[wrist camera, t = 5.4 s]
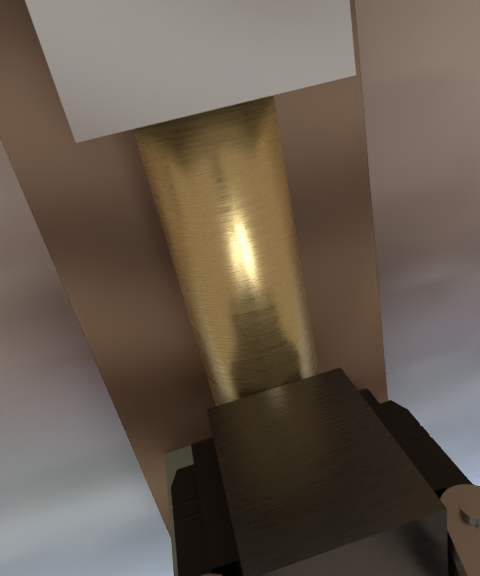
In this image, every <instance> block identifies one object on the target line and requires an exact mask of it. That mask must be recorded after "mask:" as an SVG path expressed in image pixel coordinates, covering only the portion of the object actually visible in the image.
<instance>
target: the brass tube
mask: <svg viewBox="0 0 480 576" xmlns="http://www.w3.org/2000/svg"><path fill="white" fill-rule="evenodd" d="M133 130H134V134H135V137H136V140H137V144H138V147H139V151H140V154H141V157H142V161H143V164H144V167H145V171H146V174H147V177H148V181H149V184H150V187H151V191H152V194H153V197H154V201H155V204H156V207H157V211H158V214H159V217H160V221H161V224H162V227H163V231H164V234H165V237H166V241H167V244H168V247H169V251H170V254H171V257H172V261H173V264H174V267H175V271H176V274H177V277H178V281H179V284H180V287H181V291H182V294H183V297H184V301H185V304H186V307H187V311H188V314H189V318H190V321H191V324H192V328H193V331H194V334H195V338H196V341H197V344H198V348H199V351H200V354H201V358H202V361H203V364H204V368H205V371H206V374H207V378H208V381H209V384H210V388H211V391H212V394H213V398H214V401H215V404H216V406H215V407H212V408H209V409H207V412H208V417H209V421H210V426H211V430H212V435H213V439H214V444H215V448H216V453H217V457H218V462H219V466H220V471H221V475H222V480H223V484H224V489H225V493H226V498H227V502H228V507H229V511H230V516H231V520H232V525H233V529H234V534H235V538H236V543H237V547H238V552H239V556H240V561H241V565H242V570H243V574H244V576H448V559H447V508H446V507H445V505H444V504H443V503H442V501H441V500H440V499H439V497H438V496H437V495H436V493H435V492H434V491H433V489H432V488H431V487H430V485H429V484H428V483H427V481H426V480H425V479H424V478H423V476H422V475H421V474H420V472H419V471H418V470H417V468H416V467H415V466H414V464H413V463H412V462H411V460H410V459H409V458H408V456H407V455H406V454H405V452H404V451H403V450H402V448H401V447H400V446H399V444H398V443H397V442H396V440H395V439H394V438H393V436H392V435H391V434H390V432H389V431H388V430H387V428H386V427H385V426H384V424H383V423H382V422H381V420H380V419H379V418H378V416H377V415H376V414H375V412H374V411H373V410H372V408H371V407H370V406H369V404H368V403H367V402H366V400H365V399H364V398H363V396H362V395H361V394H360V392H359V391H358V390H357V389H356V387H355V386H354V385H353V383H352V382H351V381H350V379H349V378H348V377H347V375H346V374H345V373H344V371H343V370H342V369H341V367H340V368H336V369H333V370H330V371H327V372H324V373H321V374H319V369H318V363H317V357H316V351H315V345H314V339H313V333H312V326H311V320H310V314H309V308H308V302H307V296H306V290H305V284H304V277H303V271H302V265H301V259H300V253H299V247H298V241H297V235H296V228H295V222H294V216H293V210H292V204H291V198H290V192H289V186H288V179H287V173H286V167H285V161H284V155H283V149H282V143H281V137H280V130H279V124H278V118H277V112H276V106H275V100H274V95H272V96H268V97H264V98H260V99H255V100H251V101H247V102H243V103H239V104H235V105H231V106H226V107H222V108H218V109H214V110H210V111H206V112H202V113H198V114H193V115H189V116H185V117H181V118H177V119H173V120H169V121H164V122H160V123H156V124H152V125H148V126H144V127H140V128H135V129H133Z"/></svg>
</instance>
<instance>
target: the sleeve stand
mask: <svg viewBox="0 0 480 576" xmlns="http://www.w3.org/2000/svg"><path fill="white" fill-rule="evenodd" d="M272 95H274V100H275V106H276V112H277V118H278V124H279V130H280V137H281V143H282V149H283V155H284V161H285V167H286V173H287V179H288V186H289V192H290V198H291V204H292V210H293V216H294V222H295V228H296V235H297V241H298V247H299V253H300V259H301V265H302V271H303V277H304V284H305V290H306V296H307V302H308V308H309V314H310V320H311V326H312V333H313V339H314V345H315V351H316V357H317V363H318V369H319V374H321V373H324V372H327V371H330V370H333V369H336V368H340V367H341V369H342V370H343V371H344V373H345V374H346V375H347V377H348V378H349V379H350V381H351V382H352V383H353V385H354V386H355V387H356V389H357V390H361V389H364V388H367V389H368V390H369V391H370V392H371V393H372V394H373V396H374V397H375V398H376V399H377V401H378V402H379V403H384V402H387V401H388V397H387V385H386V373H385V361H384V348H383V336H382V324H381V312H380V300H379V288H378V276H377V264H376V252H375V240H374V228H373V216H372V204H371V192H370V180H369V168H368V156H367V144H366V132H365V120H364V108H363V96H362V84H361V72H360V60H359V48H358V36H357V24H356V12H355V0H0V139H1V141H2V143H3V146H4V148H5V150H6V153H7V155H8V157H9V160H10V162H11V164H12V167H13V169H14V171H15V174H16V176H17V178H18V181H19V183H20V185H21V188H22V190H23V192H24V195H25V197H26V199H27V202H28V204H29V206H30V209H31V211H32V214H33V216H34V218H35V221H36V223H37V225H38V228H39V230H40V232H41V235H42V237H43V239H44V242H45V244H46V246H47V249H48V251H49V253H50V256H51V258H52V260H53V263H54V265H55V267H56V270H57V272H58V274H59V277H60V279H61V281H62V284H63V286H64V289H65V291H66V293H67V296H68V298H69V300H70V303H71V305H72V307H73V310H74V312H75V314H76V317H77V319H78V321H79V324H80V326H81V328H82V331H83V333H84V335H85V338H86V340H87V342H88V345H89V347H90V349H91V352H92V354H93V356H94V359H95V361H96V364H97V366H98V368H99V371H100V373H101V375H102V378H103V380H104V382H105V385H106V387H107V389H108V392H109V394H110V396H111V399H112V401H113V403H114V406H115V408H116V410H117V413H118V415H119V417H120V420H121V422H122V424H123V427H124V429H125V431H126V434H127V436H128V439H129V441H130V443H131V446H132V448H133V450H134V453H135V455H136V457H137V460H138V462H139V464H140V467H141V469H142V471H143V474H144V476H145V478H146V481H147V483H148V485H149V488H150V490H151V492H152V495H153V497H154V499H155V502H156V504H157V506H158V509H159V511H160V514H161V516H162V518H163V521H164V523H165V525H166V528H167V530H168V532H169V535H170V537H171V530H170V516H169V503H168V490H167V477H166V464H165V453H168V452H171V451H175V450H178V449H181V448H184V447H187V446H190V445H191V444H192V443H195V442H198V441H201V440H204V439H207V438H211V437H213V435H212V430H211V426H210V421H209V417H208V412H207V409H209V408H212V407H215V406H216V404H215V401H214V398H213V394H212V391H211V388H210V384H209V381H208V378H207V374H206V371H205V368H204V364H203V361H202V358H201V354H200V351H199V348H198V344H197V341H196V338H195V334H194V331H193V328H192V324H191V321H190V318H189V314H188V311H187V307H186V304H185V301H184V297H183V294H182V291H181V287H180V284H179V281H178V277H177V274H176V271H175V267H174V264H173V261H172V257H171V254H170V251H169V247H168V244H167V241H166V237H165V234H164V231H163V227H162V224H161V221H160V217H159V214H158V211H157V207H156V204H155V201H154V197H153V194H152V191H151V187H150V184H149V181H148V177H147V174H146V171H145V167H144V164H143V161H142V157H141V154H140V151H139V147H138V144H137V140H136V137H135V134H134V130H133V129H135V128H140V127H144V126H148V125H152V124H156V123H160V122H164V121H169V120H173V119H177V118H181V117H185V116H189V115H193V114H198V113H202V112H206V111H210V110H214V109H218V108H222V107H226V106H231V105H235V104H239V103H243V102H247V101H251V100H255V99H260V98H264V97H268V96H272Z"/></svg>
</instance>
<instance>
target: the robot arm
mask: <svg viewBox="0 0 480 576" xmlns="http://www.w3.org/2000/svg"><path fill="white" fill-rule="evenodd" d="M358 391H359V392H360V394H361V395H362V396H363V398H364V399H365V400H366V402H367V403H368V404H369V406H370V407H371V408H372V410H373V411H374V412H375V414H376V415H377V416H378V418H379V419H380V420H381V422H382V423H383V424H384V426H385V427H386V428H387V430H388V431H389V432H390V434H391V435H392V436H393V438H394V439H395V440H396V442H397V443H398V444H399V446H400V447H401V448H402V450H403V451H404V452H405V454H406V455H407V456H408V458H409V459H410V460H411V462H412V463H413V464H414V466H415V467H416V468H417V470H418V471H419V472H420V474H421V475H422V476H423V478H424V479H425V480H426V481H427V483H428V484H429V485H430V487H431V488H432V489H433V491H434V492H435V493H436V495H437V496H438V497H439V499H440V500H441V501H442V503H443V504H444V505H445V507H446V508H447V559H448V576H480V486H476V485H474V484H472V483H471V482H470V481H469V480H468V479H467V477H466V476H465V475H464V474H463V473H462V472H461V471H460V469H459V468H458V467H457V466H456V465H455V464H454V462H453V461H452V460H451V459H450V458H449V457H448V456H447V454H446V453H445V452H444V451H443V450H442V449H441V447H440V446H439V445H438V444H437V443H436V442H435V441H434V439H433V438H432V437H430V436H429V434H428V432H427V431H426V430H425V429H424V428H423V427H422V426H420V423H419V422H418V421H417V420H416V419H415V417H414V416H413V415H412V414H411V413H410V412H409V410H407V409H406V408H404V407H402V406H400V405H399V404H397V403H395V402H393V401H391V400H390V401H387V402H384V403H379V402H378V401H377V399H376V398H375V397H374V396H373V394H372V393H371V392H370V391H369V390H368V389H367V388H364V389H361V390H358ZM191 449H192V455H193V462H194V464H192V465H189V466H186V467H183V468H180V469H177V471H176V474H175V477H174V479H173V482H172V485H171V497H172V506H173V521H174V532H175V544H176V555H177V567H178V576H244V574H243V570H242V565H241V561H240V556H239V552H238V547H237V543H236V538H235V534H234V529H233V525H232V520H231V516H230V511H229V507H228V502H227V498H226V493H225V489H224V484H223V480H222V475H221V471H220V466H219V462H218V457H217V453H216V448H215V444H214V439H213V437H211V438H207V439H204V440H201V441H198V442H195V443H192V444H191Z"/></svg>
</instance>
